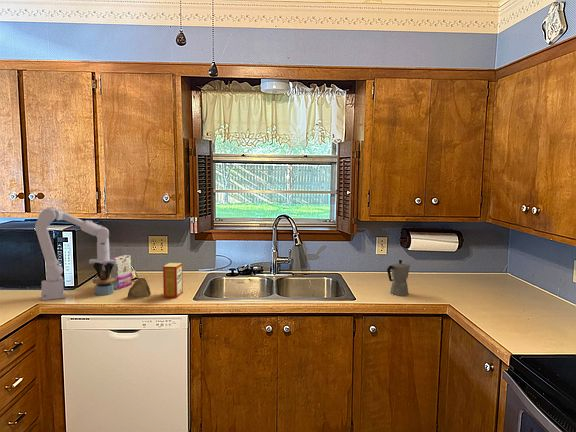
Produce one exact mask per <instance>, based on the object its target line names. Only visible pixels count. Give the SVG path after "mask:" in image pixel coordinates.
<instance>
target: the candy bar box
mask: <svg viewBox="0 0 576 432" xmlns="http://www.w3.org/2000/svg"><path fill="white" fill-rule="evenodd" d="M111 259H113V260H118V264H114V266H113V268H112V270H111V273H110V277H113V278H115V282H113V284H114V290H120V289H124V288H127V287H129V286H131V285H132V286H133V278H132V277H133V276H132V274H133V273H132V255H128V254H124V255H120V256H117V257H116V256H115V257H112V258H111Z"/></svg>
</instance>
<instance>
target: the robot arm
mask: <svg viewBox="0 0 576 432" xmlns="http://www.w3.org/2000/svg"><path fill="white" fill-rule="evenodd" d="M55 220H56V221H66V222H68V223H70V224H73V225H75V226H77V227H80V230H81V231H82V232H85V233H87V234H89V235H92V236H93V237H94V236H95V237H96V238H97V239H96V241H97V242H96V255H97V257H96V258H91V259H88V264H93V265H92V266H93V268H94V270H95V271H96V275H97V278H100V271H102V270H103V266H104V270H106V278H110V277H111V270H112V268H113V266H114V264H118V260H113V259H112V258H111V257H110V255H111V253H110V238H109V237H110V231H109V229H108V228H107V227H105V226H103V225H101V224H97V223H95V222H93V220H91V219H90V220H89V219H88V220H87V219H86V220H82V219H80V218H78V217H76V216H75V215H72V214H70V213H68V212H66V211H64V210H62V209H58V208H55V206H54V207H53V206H52V207H51V206H50V207H47V208H45V209H43V210H42V211H41V212H40V213H39V214H38V217H37V219H36V223H35V225H34V229H35V232H36V235H37V239H38V242H39V245H40V246H39V247H40V249H41V253H42V256H43V258H44V262H45V271H46V272H45V278H46V280H41V293H40V294H41V301H48V300H58V299H59V300H60V299H64V298H65V296H66V294H65V293H64V277H63V276H62V274H63V273H64V269H63V266H62V265H60V262H59V260H58V259H57V255H56V253H55V249H54V246H53V242H52V238H51V236H50V232H49V229H48V227H49V226H50V225H51V224H52V222H54V221H55Z"/></svg>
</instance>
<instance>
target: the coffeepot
mask: <svg viewBox="0 0 576 432" xmlns="http://www.w3.org/2000/svg"><path fill="white" fill-rule="evenodd" d="M402 262H403V260H401V259H399V260H398V263H393V264H391V265H389V266H388V267H387V268H386V272H387V276H388V280H389V282H392V283H391V287H390V290H389V291H390V292H389V293H390V294H391V295H392V294H393V296H395V295H396V297H407V296H409V288H408V282H407V280H408V278H409V271H410V267H411V264H410V265H409V264H407V263H402Z"/></svg>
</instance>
